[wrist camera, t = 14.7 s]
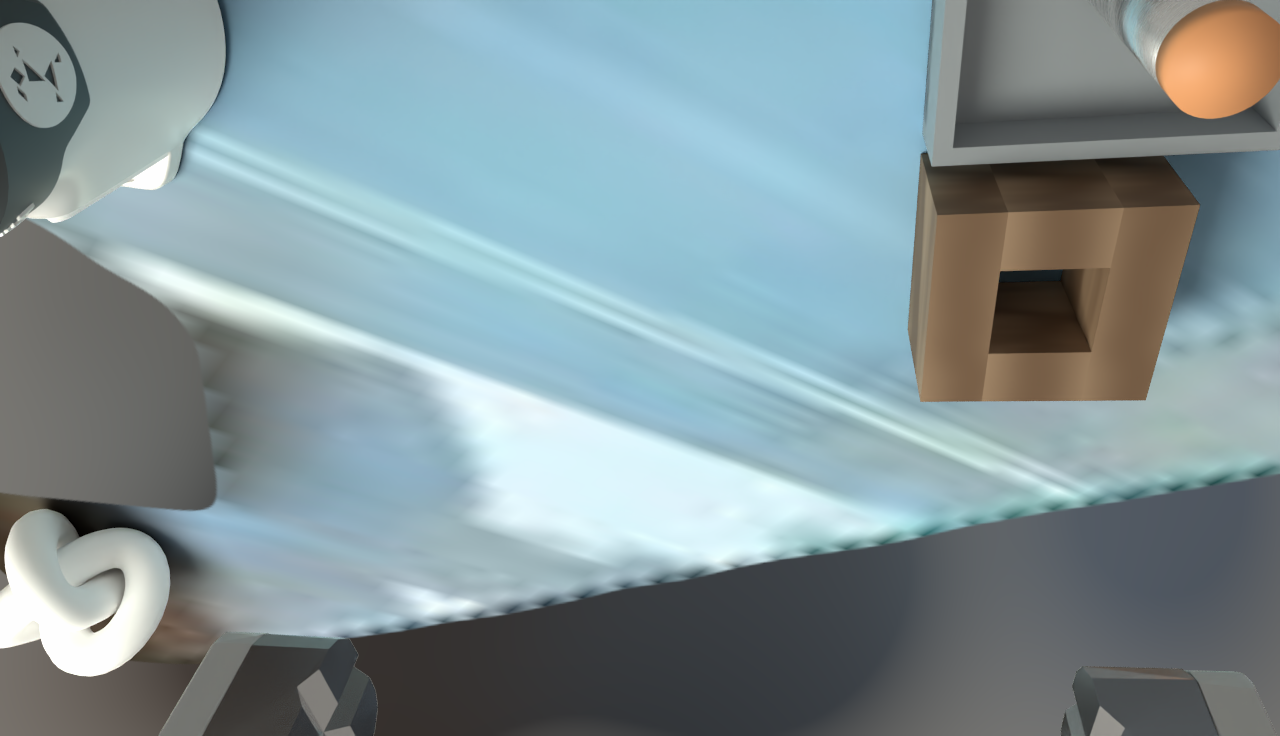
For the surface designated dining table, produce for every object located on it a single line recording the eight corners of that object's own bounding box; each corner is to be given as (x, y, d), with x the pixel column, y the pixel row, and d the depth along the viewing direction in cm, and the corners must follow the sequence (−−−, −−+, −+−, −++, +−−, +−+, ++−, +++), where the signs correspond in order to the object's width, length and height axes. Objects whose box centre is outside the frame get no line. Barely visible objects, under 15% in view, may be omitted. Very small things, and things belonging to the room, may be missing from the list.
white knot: (141, 615, 75) (73, 714, 68) (2, 533, 71) (-85, 630, 63) (208, 563, 69) (143, 665, 62) (63, 470, 65) (-25, 568, 58)
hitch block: (907, 329, 49) (920, 401, 44) (920, 153, 43) (937, 215, 38) (1109, 325, 47) (1145, 400, 42) (1152, 142, 41) (1200, 204, 36)
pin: (1070, 10, 37) (1157, 122, 28) (1084, -75, 35) (1181, 16, 27) (1155, 3, 37) (1270, 115, 28) (1174, -84, 35) (1304, 7, 26)
